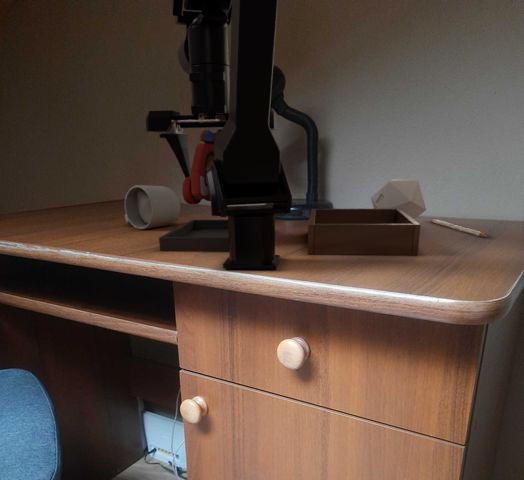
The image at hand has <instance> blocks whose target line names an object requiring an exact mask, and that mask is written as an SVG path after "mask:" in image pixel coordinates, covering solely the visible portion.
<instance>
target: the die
mask: <svg viewBox="0 0 524 480" xmlns="http://www.w3.org/2000/svg"><path fill="white" fill-rule="evenodd" d="M370 201H371V204H372V207H373V209H401V210H403V211H404V212H405V213H406V214H408V215H409V216H410V217H411V218H413V219H414V220H415V221H416V219H417V218H419V216H421V215H422V214H423V213H425V212H426V211H427V208H426V204H425V200H424V196H423V192H422V190H421V186H420V182H419V180H418V179H395V178H393V179H391V180H389V181H388V182H387V183H385V184H384V185H383V186H382V187H381V188H380V189H379V190H378V191H376V192H375V193H374V194H373V195H372V196H371V197H370Z"/></svg>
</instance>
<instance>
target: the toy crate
mask: <svg viewBox="0 0 524 480" xmlns="http://www.w3.org/2000/svg"><path fill="white" fill-rule="evenodd" d="M308 219H309V220H308V223H307V255H341V256H342V255H345V256H346V255H347V256H348V255H349V256H351V255H352V256H355V255H356V256H418V254H419V248H420V247H419V245H420V238H421V226H422V225H421V223H419V222H418V221H417V220H416V219H415V220H414V219H413V218H411V217H410V216H409V215H408V214H406V213H405V212H404V211H403V210H401V209H374V208H311V209H310V214H309V218H308Z"/></svg>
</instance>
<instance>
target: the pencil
mask: <svg viewBox="0 0 524 480" xmlns="http://www.w3.org/2000/svg"><path fill="white" fill-rule="evenodd" d="M430 223H433V224H436V225H440V226H443V227H446V228H450V229H453V230H456V231H459V232H463V233H466V234H470V235H474V236H477V237H480V238H482V237H483V238H487V237H488V236H487V234H486V233H484V232H482V231H479V230H475V229H472V228H468V227H465V226H460V225H458V224H454V223H451V222H447V221H443V220H440V219H437V218H432V219H431V220H430Z"/></svg>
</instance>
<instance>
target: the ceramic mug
mask: <svg viewBox="0 0 524 480" xmlns="http://www.w3.org/2000/svg"><path fill="white" fill-rule="evenodd" d="M124 197H125V198H124V211H125V214H124V219H125V222H126V224H127V225H129V226H132V227H134V228H135V229H137V230H143V231H144V230H149V229H154V228H160V227H166V226H170V225H172V224H174V223H176V222H177V220H178V219H179V217H180V215H181V211H182V203H181V199H180V197H179V195H178V194H177V192H176V191H175V190H173V188H170V187H168V186H164V185H142V184H136V185H134V186H132V187H130V188H129V189H128V190H127V192H126V194H125V196H124Z"/></svg>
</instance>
